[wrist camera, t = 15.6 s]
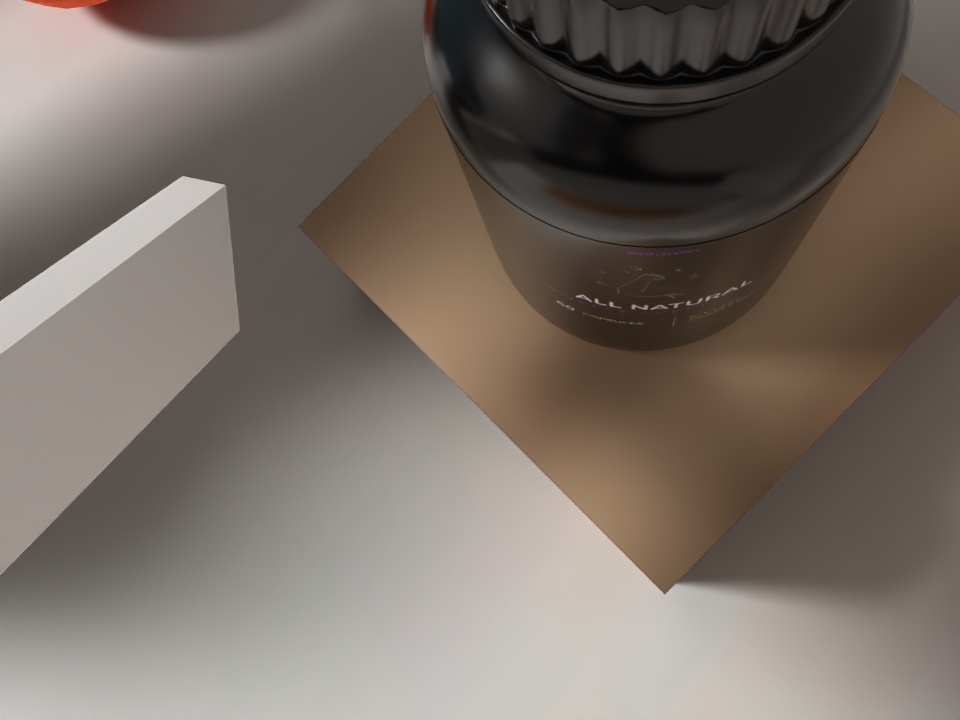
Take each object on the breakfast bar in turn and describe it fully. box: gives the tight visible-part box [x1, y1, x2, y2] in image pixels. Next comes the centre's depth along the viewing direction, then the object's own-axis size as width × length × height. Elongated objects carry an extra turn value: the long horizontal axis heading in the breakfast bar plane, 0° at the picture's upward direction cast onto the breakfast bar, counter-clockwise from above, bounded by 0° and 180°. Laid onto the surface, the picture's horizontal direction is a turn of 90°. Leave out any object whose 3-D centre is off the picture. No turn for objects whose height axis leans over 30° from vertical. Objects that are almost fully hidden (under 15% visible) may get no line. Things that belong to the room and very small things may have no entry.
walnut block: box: [298, 73, 960, 594], centre depth 23 cm, size 12×12×5 cm
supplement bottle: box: [422, 0, 913, 351], centre depth 15 cm, size 7×7×12 cm
